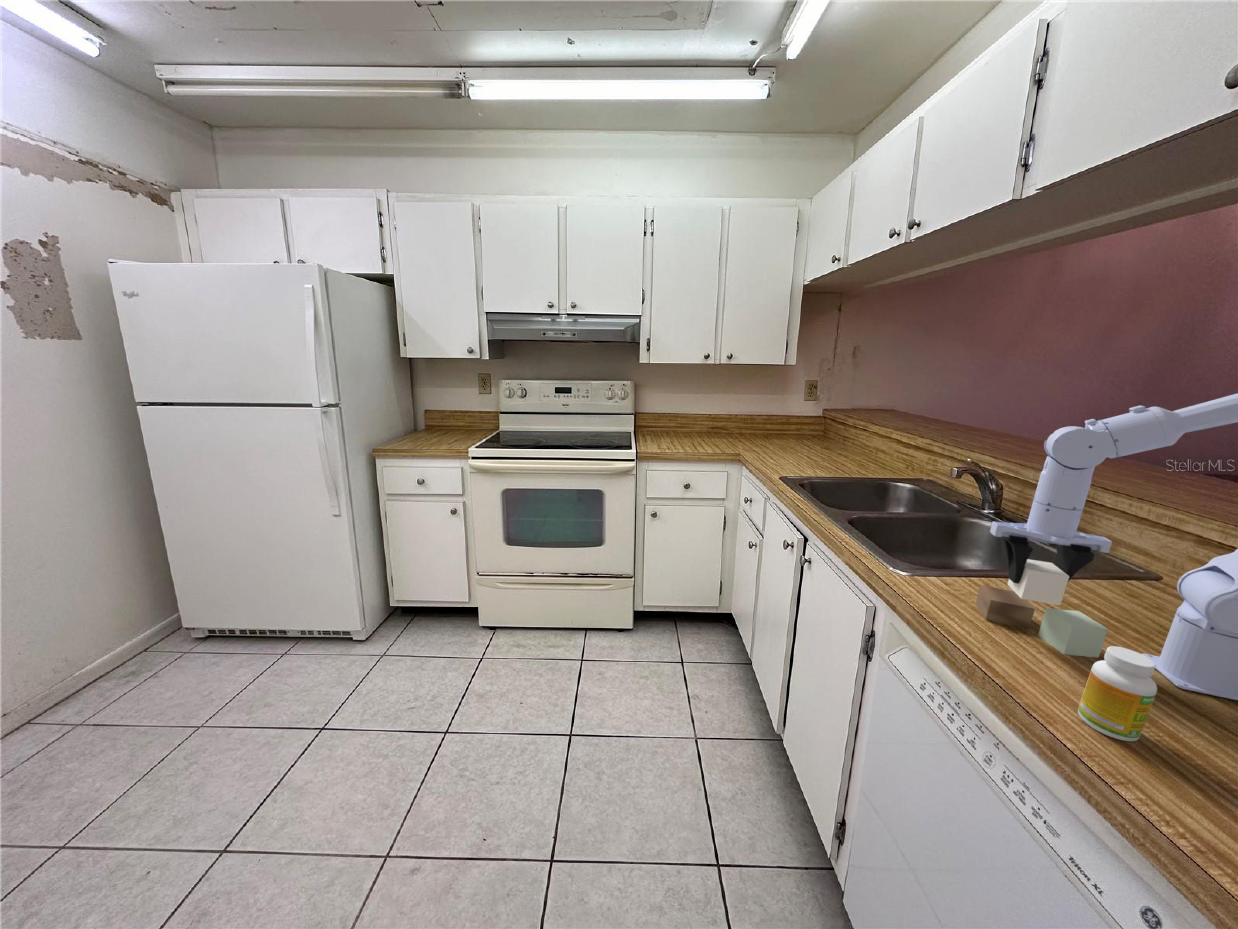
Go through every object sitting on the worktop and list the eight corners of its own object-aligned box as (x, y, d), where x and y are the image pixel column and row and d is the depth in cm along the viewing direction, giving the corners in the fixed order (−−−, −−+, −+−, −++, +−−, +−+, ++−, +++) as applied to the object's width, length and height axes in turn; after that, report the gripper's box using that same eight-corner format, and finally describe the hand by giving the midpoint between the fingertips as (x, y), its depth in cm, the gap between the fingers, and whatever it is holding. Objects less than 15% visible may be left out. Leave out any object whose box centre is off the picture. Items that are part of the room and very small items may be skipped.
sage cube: (1070, 638, 76) (1079, 611, 75) (1098, 658, 71) (1107, 628, 70) (1037, 635, 76) (1045, 608, 75) (1063, 654, 72) (1072, 625, 70)
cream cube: (1043, 590, 77) (1052, 562, 76) (1060, 605, 72) (1069, 576, 71) (1007, 584, 78) (1015, 557, 77) (1021, 598, 74) (1029, 569, 73)
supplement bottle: (1134, 750, 54) (1162, 677, 51) (1071, 720, 58) (1094, 651, 56) (1142, 730, 57) (1168, 660, 55) (1082, 703, 61) (1104, 637, 59)
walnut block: (1015, 613, 83) (1021, 592, 82) (1028, 630, 78) (1034, 608, 77) (975, 604, 86) (980, 584, 85) (985, 620, 80) (990, 599, 79)
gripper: (1012, 504, 71) (991, 585, 74) (1135, 520, 66) (1106, 606, 69) (993, 492, 77) (974, 567, 80) (1104, 505, 73) (1079, 585, 76)
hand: (1034, 584), depth 75 cm, fingers closed on cream cube, 5 cm apart
